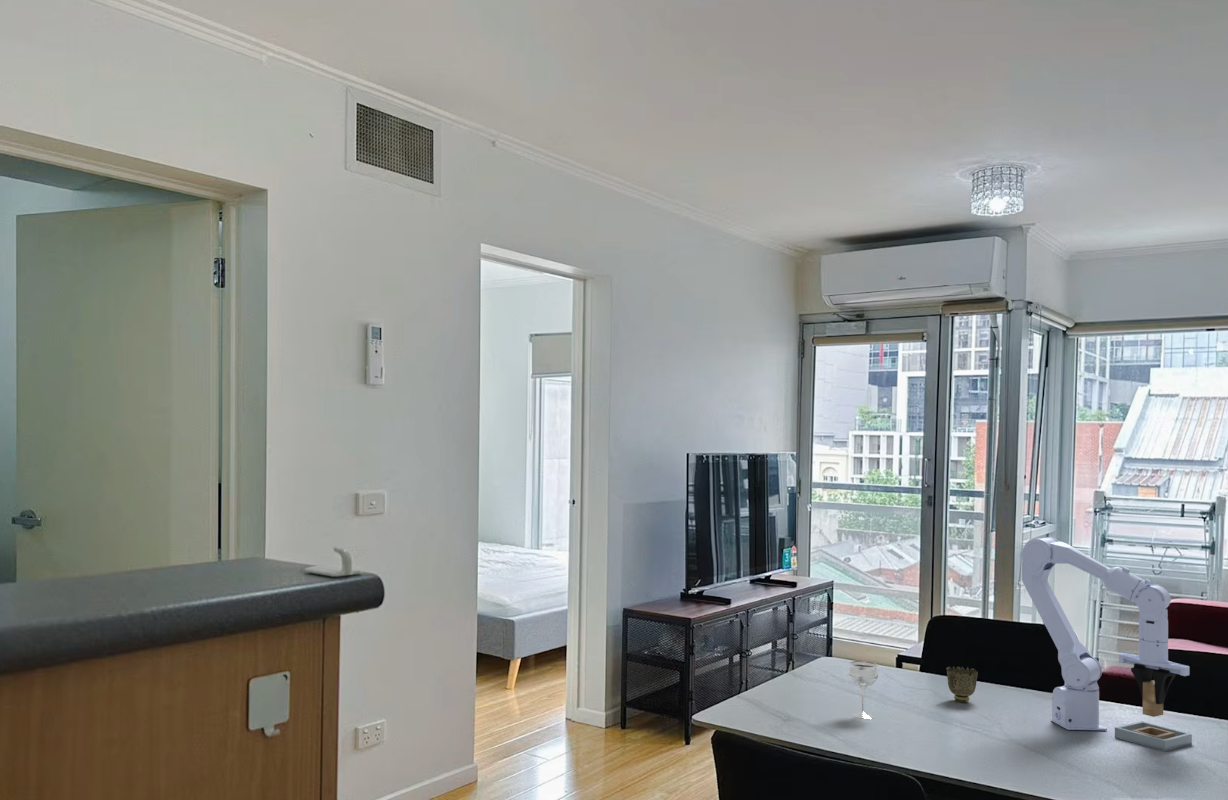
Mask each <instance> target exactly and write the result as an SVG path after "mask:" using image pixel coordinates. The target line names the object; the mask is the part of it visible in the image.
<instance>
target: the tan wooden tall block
mask: <svg viewBox="0 0 1228 800" xmlns="http://www.w3.org/2000/svg"><path fill="white" fill-rule="evenodd" d="M1142 715H1145V716H1148V717H1154V718H1155V717H1159V716H1164V703H1163V704H1156V698H1155V681H1154V679H1153V680H1151V681H1147V682H1143V700H1142Z"/></svg>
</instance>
